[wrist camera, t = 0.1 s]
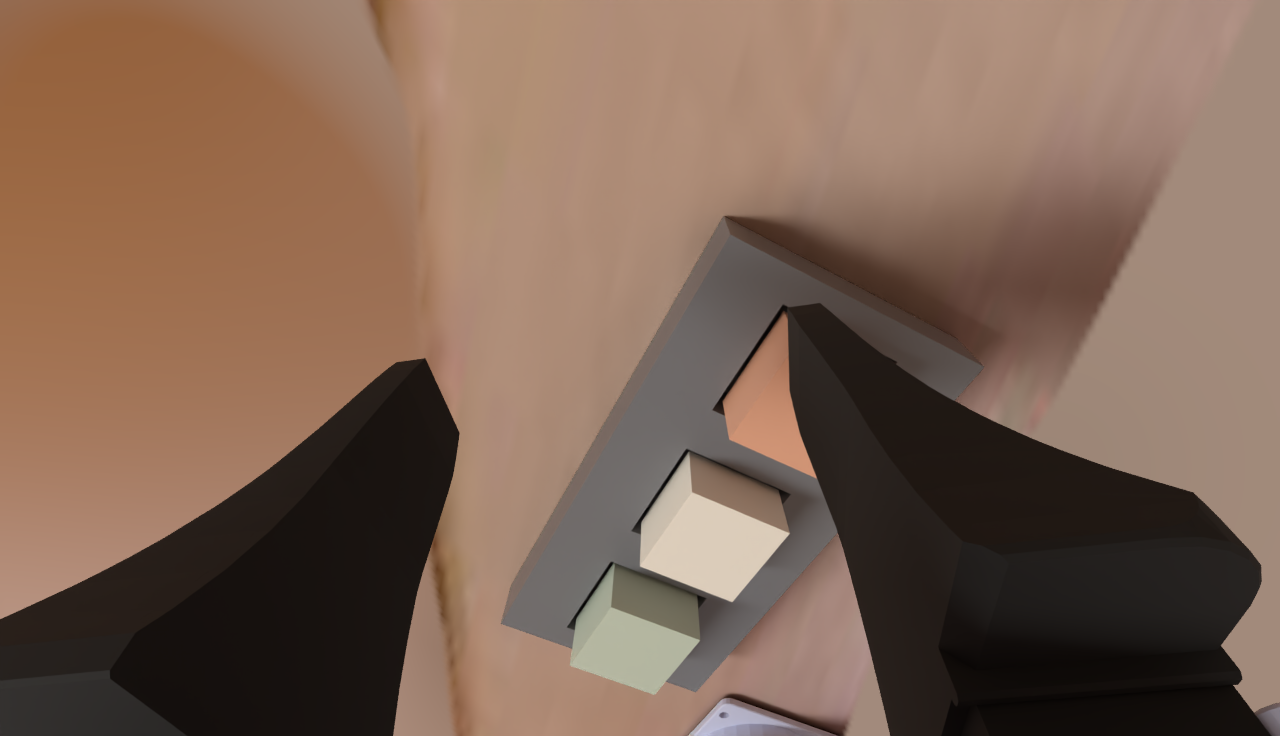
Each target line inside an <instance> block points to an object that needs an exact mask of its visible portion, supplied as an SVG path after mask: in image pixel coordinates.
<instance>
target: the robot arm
mask: <svg viewBox="0 0 1280 736" xmlns="http://www.w3.org/2000/svg"><path fill="white" fill-rule="evenodd" d="M787 312H788V352H789V391H790V395H791V399H792V403H793V408H794V412H795V416H796V420H797V424H798V428H799V432H800V435H801V438H802V441H803V443H804V446H805V449H806V451H807V454H808V456H809V459H810V462H811V464H812V467H813V469H814V472H815V475H816V477H817V480H818V482H819V485H820V487H821V490H822V493H823V495H824V498H825V500H826V503H827V505H828V508H829V511H830V513H831V516H832V518H833V521H834V523H835V526H836V529H837V532H838V535H839V538H840V541H841V544H842V547H843V550H844V553H845V557H846V561H847V564H848V568H849V572H850V575H851V579H852V583H853V586H854V590H855V594H856V598H857V601H858V605H859V609H860V613H861V617H862V621H863V625H864V629H865V633H866V636H867V640H868V644H869V648H870V652H871V656H872V661H873V665H874V669H875V673H876V677H877V681H878V685H879V689H880V693H881V697H882V702H883V706H884V710H885V714H886V719H887V723H888V728H889V732H890V736H1280V703H1275V704H1272V705H1270V706H1267V707H1264V708H1261V709H1259V710H1258V711H1256V712H1255V713H1254V712H1253V711H1252V710H1251V709H1250V707H1249V706H1248V704H1247V703H1246V702H1245V700H1243V698H1242V697H1241V695H1240V694H1239V693H1238V691H1237V690H1236V689H1235V687H1234V686H1233V685H1238V684H1239V683H1240V681H1241V680H1242V675H1241V671H1240V670H1239V668H1238V667H1237V666H1236V665H1235V663H1234V662H1233V661H1232V660H1231V658H1230V657H1229V656H1228V654H1227V653H1226V652H1225V650H1224V649H1223V648H1222V647H1221V644H1222V643H1223V642H1224V640H1225V639H1226V638H1227V636H1228V635H1229V634H1230V632H1231V631H1232V630H1233V628H1234V627H1235V626H1236V624H1237V623H1238V622H1239V620H1240V619H1241V617H1242V616H1243V615H1244V614H1245V612H1246V611H1247V609H1248V608H1249V607H1250V605H1251V604H1252V602H1253V600H1254V598H1255V596H1256V594H1257V592H1258V590H1259V588H1260V585H1261V581H1262V580H1261V565H1260V563H1259V562H1258V561H1257V559H1256V558H1255V557H1254V555H1253V554H1252V553H1251V551H1250V550H1249V549H1248V548H1247V547H1246V546H1245V545H1244V544H1243V543H1242V542H1241V541H1240V540H1239V539H1238V538H1237V536H1236V535H1235V534H1234V533H1233V532H1232V531H1231V530H1230V529H1229V528H1228V527H1227V526H1226V525H1225V524H1224V522H1223V521H1222V520H1221V519H1220V518H1219V517H1218V516H1217V515H1216V514H1215V513H1214V512H1213V511H1212V510H1211V509H1210V508H1209V507H1208V506H1207V505H1206V504H1205V503H1204V502H1203V501H1201V500H1200V499H1199V498H1198V497H1197V496H1196V495H1195V494H1194V493H1193V492H1190V491H1186V490H1183V489H1179V488H1176V487H1173V486H1169V485H1166V484H1163V483H1159V482H1155V481H1153V480H1149V479H1146V478H1142V477H1139V476H1136V475H1132V474H1129V473H1126V472H1122V471H1119V470H1115V469H1112V468H1109V467H1106V466H1103V465H1100V464H1098V463H1095V462H1092V461H1089V460H1087V459H1084V458H1081V457H1078V456H1075V455H1073V454H1070V453H1067V452H1064V451H1061V450H1059V449H1057V448H1054V447H1052V446H1049V445H1046V444H1044V443H1042V442H1039V441H1037V440H1034V439H1032V438H1029V437H1027V436H1025V435H1023V434H1020V433H1018V432H1016V431H1014V430H1012V429H1009V428H1007V427H1005V426H1003V425H1000V424H998V423H996V422H994V421H992V420H990V419H988V418H986V417H984V416H982V415H980V414H978V413H976V412H974V411H972V410H970V409H968V408H966V407H965V406H963V405H961V404H959V403H957V402H955V401H954V400H952V399H950V398H948V397H946V396H945V395H943V394H941V393H939V392H938V391H936V390H934V389H933V388H931V387H929V386H928V385H926V384H925V383H923V382H922V381H920V380H919V379H917V378H916V377H914V376H913V375H911V374H909V373H908V372H906V371H905V370H903V369H902V368H900V367H899V366H898V365H896V364H895V363H893V362H892V361H891V360H889V359H888V358H887V357H886V356H884V355H883V354H882V353H880V352H879V351H878V350H876V349H875V348H874V347H872V346H871V345H870V344H869V343H867V342H866V341H865V340H864V339H862V338H861V337H860V336H859V335H858V334H856V333H855V332H854V331H853V330H852V329H850V328H849V327H848V326H847V325H846V324H845V323H843V322H842V321H841V320H840V319H839V318H838V317H836V316H835V315H834V314H833V313H832V312H831V311H829V310H828V309H827V308H826V307H824V306H823V305H822V304H821V303H816V304H809V305H801V306H794V307H787ZM458 440H459V431H458V429H457V426H456V424H455V422H454V420H453V418H452V416H451V413H450V411H449V409H448V407H447V405H446V402H445V400H444V398H443V396H442V394H441V392H440V389H439V387H438V385H437V383H436V381H435V378H434V376H433V374H432V372H431V370H430V368H429V365H428V363H427V361H426V359H425V358H424V359H417V360H411V361H404V362H397V363H395V364H394V365H392V366H391V367H390V368H388V369H387V370H386V371H384V372H383V373H382V374H381V375H380V376H379V377H377V378H376V379H375V380H374V381H373V382H372V383H370V384H369V385H368V386H367V387H366V388H364V389H363V390H362V391H361V392H360V393H359V394H358V395H356V396H355V397H354V398H353V399H352V400H351V401H350V402H349V403H347V404H346V405H345V406H344V407H343V408H342V409H341V410H339V411H338V412H337V413H336V414H335V415H334V416H333V417H332V418H330V419H329V420H328V421H327V422H326V423H325V424H324V425H323V426H321V427H320V428H319V429H318V430H317V431H315V432H314V433H313V434H312V435H310V436H309V437H308V438H307V439H306V440H304V441H303V442H302V443H301V444H300V445H298V446H297V447H296V448H295V449H293V450H292V451H291V452H290V453H289V454H287V455H286V456H285V457H284V458H282V459H281V460H280V461H279V462H277V463H276V464H275V465H273V466H272V467H271V468H270V469H269V470H267V471H266V472H264V473H263V474H262V475H260V476H259V477H258V478H256V479H255V480H253V481H252V482H251V483H249V484H248V485H246V486H245V487H243V488H242V489H240V490H239V491H238V492H236V493H235V494H233V495H232V496H230V497H229V498H228V499H226V500H225V501H223V502H222V503H220V504H219V505H217V506H215V507H214V508H212V509H211V510H209V511H207V512H206V513H204V514H202V515H201V516H199V517H198V518H196V519H194V520H193V521H191V522H190V523H188V524H186V525H184V526H183V527H182V528H180V529H178V530H176V531H175V532H173V533H172V534H170V535H168V536H167V537H165V538H163V539H162V540H160V541H158V542H156V543H154V544H153V545H151V546H149V547H147V548H145V549H144V550H142V551H140V552H138V553H137V554H135V555H133V556H131V557H129V558H127V559H125V560H123V561H121V562H119V563H117V564H116V565H114V566H112V567H110V568H108V569H106V570H104V571H102V572H100V573H98V574H96V575H94V576H92V577H90V578H88V579H86V580H84V581H82V582H80V583H78V584H76V585H74V586H72V587H70V588H67V589H65V590H63V591H61V592H59V593H57V594H55V595H52V596H50V597H48V598H46V599H44V600H42V601H39V602H37V603H35V604H33V605H31V606H29V607H26V608H25V609H22V610H20V611H18V612H16V613H13V614H11V615H9V616H7V617H4V618H2V619H0V736H393V732H394V725H395V717H396V709H397V701H398V695H399V687H400V682H401V675H402V670H403V664H404V658H405V652H406V646H407V640H408V635H409V630H410V625H411V620H412V615H413V610H414V605H415V600H416V595H417V591H418V587H419V584H420V580H421V576H422V572H423V570H424V566H425V563H426V560H427V557H428V554H429V551H430V548H431V545H432V541H433V538H434V535H435V532H436V529H437V526H438V523H439V520H440V517H441V513H442V510H443V507H444V504H445V501H446V497H447V494H448V491H449V488H450V484H451V481H452V477H453V472H454V467H455V461H456V455H457V448H458ZM688 736H837V735H834V734H832V733H829V732H826V731H823V730H820V729H817V728H815V727H812V726H809V725H806V724H803V723H800V722H798V721H795V720H792V719H789V718H786V717H783V716H781V715H778V714H775V713H772V712H769V711H766V710H764V709H761V708H758V707H755V706H752V705H749V704H747V703H744V702H741V701H738V700H735V699H732V698H725V699H722V700H721V701H720V702H719V703H718V704H717V705H716V706H715V707H714V708H713V709H712V710H711V712H710V713H709V714H708V715H707V716H706V717H705V718H704V719H703V720H702V721H701V722H700V723H699V724H698V725H697V727H696V728H695V729H694V730H693V731H692V732H691V733H690V734H689V735H688Z"/></svg>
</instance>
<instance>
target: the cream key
mask: <svg viewBox="0 0 1280 736" xmlns="http://www.w3.org/2000/svg"><path fill="white" fill-rule="evenodd" d="M789 534H790V532H789V528H788V525H787V521H786V517H785V513H784V509H783V505H782V502H781V498H780V494H779V490H777V489H775V488H773V487H770V486H768V485H766V484H764V483H761V482H759V481H757V480H754V479H752V478H750V477H747V476H745V475H743V474H741V473H738V472H736V471H734V470H731V469H729V468H727V467H725V466H722V465H720V464H718V463H715V462H713V461H711V460H708V459H706V458H704V457H702V456H699V455H697V454H695V453H692V452H690V451H689V452H688V453H687V455H686V456H685V458H684V459H683V461H682V462H681V464H680V465H679V467H678V468H677V470H676V471H675V473H674V474H673V476H672V477H671V479H670V480H669V482H668V483H667V484H666V486H665V487H664V489H663V490H662V492H661V493H660V495H659V496H658V498H657V499H656V501H655V502H654V504H653V505H652V507H651V508H650V510H649V511H648V513H647V514H646V516H645V517H644V519H643V520H642V522H641V547H640V567H643V568H645V569H648V570H651V571H653V572H656V573H658V574H661V575H663V576H666V577H669V578H671V579H674V580H676V581H679V582H681V583H684V584H687V585H689V586H692V587H694V588H697V589H700V590H702V591H705V592H707V593H710V594H712V595H715V596H718V597H720V598H723V599H725V600H728V601H730V602H733V601H734V599H735V598H736V597H737V596H738V595H739V594H740V592H741V591H742V590H743V589H744V588H745V586H746V585H747V584H748V583H749V582H750V580H751V579H752V578H753V577H754V576H755V574H756V573H757V572H758V571H759V570H760V568H761V567H762V566H763V565H764V564H765V563H766V561H767V560H768V559H769V558H770V557H771V555H772V554H773V553H774V552H775V551H776V549H777V548H778V547H779V546H780V545H781V543H782V542H783V541H784V540H785V539H786V537H787V536H788V535H789Z"/></svg>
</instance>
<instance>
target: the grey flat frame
mask: <svg viewBox="0 0 1280 736" xmlns="http://www.w3.org/2000/svg"><path fill="white" fill-rule="evenodd" d="M816 303H821V304H822V305H823V306H824V307H826V308H827V309H828V310H829V311H831V312H832V313H833V314H834V315H835V316H836V317H838V318H839V319H840V320H841V321H842V322H843V323H845V324H846V325H847V326H848V327H849V328H850V329H852V330H853V331H854V332H855V333H856V334H858V335H859V336H860V337H861V338H862V339H864V340H865V341H866V342H867V343H869V344H870V345H871V346H872V347H874V348H875V349H876V350H878V351H879V352H880V353H882V354H883V355H884V356H886V357H887V358H888V359H889V360H891V361H892V362H893V363H895V364H896V365H898V366H899V367H900V368H902V369H903V370H905V371H906V372H908V373H909V374H911V375H913V376H914V377H916V378H917V379H919V380H920V381H922V382H923V383H925V384H926V385H928V386H929V387H931V388H933V389H934V390H936V391H938V392H939V393H941V394H943V395H945V396H946V397H948V398H950V399H952V400H954V401H955V400H956V398H957V397H958V396H959V395H960V394H961V393H962V392H963V391H964V389H965V388H966V387H967V386H968V385H969V384H970V383H971V382H972V380H973V379H974V378H975V377H976V376H977V375H978V374H979V373H980V371H981V370H982V369H983V368H984V366H983V365H982V364H981V363H980V362H979V361H978V360H977V359H976V358H975V357H974V356H973V355H972V354H971V353H970V352H969V351H968V350H967V348H966V347H965V346H964V345H963V344H962V343H961V342H960V341H959V340H958V339H956V338H955V337H953V336H951V335H949V334H947V333H945V332H943V331H941V330H939V329H937V328H936V327H934V326H932V325H930V324H928V323H926V322H924V321H922V320H920V319H918V318H917V317H915V316H913V315H911V314H909V313H907V312H905V311H903V310H901V309H899V308H898V307H896V306H894V305H892V304H890V303H888V302H886V301H884V300H882V299H880V298H879V297H877V296H875V295H873V294H871V293H869V292H867V291H865V290H863V289H861V288H860V287H858V286H856V285H854V284H852V283H850V282H848V281H846V280H844V279H842V278H841V277H839V276H837V275H835V274H833V273H831V272H829V271H827V270H825V269H823V268H822V267H820V266H818V265H816V264H814V263H812V262H810V261H808V260H806V259H804V258H803V257H801V256H799V255H797V254H795V253H793V252H791V251H789V250H787V249H785V248H784V247H782V246H780V245H778V244H776V243H774V242H772V241H770V240H768V239H766V238H765V237H763V236H761V235H759V234H757V233H755V232H753V231H751V230H749V229H747V228H745V227H744V226H742V225H740V224H738V223H736V222H734V221H732V220H730V219H728V218H726V217H725V216H723V218H722V220H721V222H720V223H719V225H718V227H717V228H716V230H715V232H714V234H713V235H712V237H711V239H710V241H709V242H708V244H707V246H706V248H705V249H704V251H703V253H702V255H701V256H700V258H699V260H698V261H697V263H696V265H695V267H694V268H693V270H692V272H691V274H690V275H689V277H688V279H687V281H686V282H685V284H684V286H683V288H682V289H681V291H680V293H679V294H678V296H677V298H676V300H675V301H674V303H673V305H672V307H671V308H670V310H669V312H668V314H667V315H666V317H665V319H664V321H663V322H662V324H661V326H660V327H659V329H658V331H657V333H656V334H655V336H654V338H653V340H652V341H651V343H650V345H649V347H648V348H647V350H646V352H645V354H644V355H643V357H642V359H641V360H640V362H639V364H638V366H637V367H636V369H635V371H634V373H633V374H632V376H631V378H630V380H629V381H628V383H627V385H626V387H625V388H624V390H623V392H622V393H621V395H620V397H619V399H618V400H617V402H616V404H615V406H614V407H613V409H612V411H611V413H610V414H609V416H608V418H607V420H606V421H605V423H604V425H603V426H602V428H601V430H600V432H599V433H598V435H597V437H596V439H595V440H594V442H593V444H592V446H591V447H590V449H589V451H588V453H587V454H586V456H585V458H584V459H583V461H582V463H581V465H580V466H579V468H578V470H577V472H576V473H575V475H574V477H573V479H572V480H571V482H570V484H569V486H568V487H567V489H566V491H565V492H564V494H563V496H562V498H561V499H560V501H559V503H558V505H557V506H556V508H555V510H554V512H553V513H552V515H551V517H550V519H549V520H548V522H547V524H546V525H545V527H544V529H543V531H542V532H541V534H540V536H539V538H538V539H537V541H536V543H535V545H534V546H533V548H532V550H531V552H530V553H529V555H528V557H527V558H526V560H525V562H524V564H523V565H522V567H521V569H520V571H519V572H518V574H517V576H516V578H515V579H514V581H513V583H512V585H511V587H510V591H509V595H508V599H507V602H506V606H505V610H504V614H503V618H502V621H501V624H503V625H506V626H509V627H512V628H515V629H517V630H520V631H523V632H526V633H529V634H532V635H535V636H537V637H540V638H543V639H546V640H549V641H552V642H554V643H557V644H560V645H563V646H566V647H569V648H572V647H573V640H574V632H575V625H576V618H577V617H578V615H579V614H580V612H581V611H582V609H583V608H584V606H585V605H586V603H587V602H588V600H589V599H590V597H591V596H592V594H593V593H594V591H595V590H596V588H597V587H598V585H599V584H600V583H601V581H602V580H603V578H604V577H605V575H606V574H607V572H608V571H609V569H610V568H611V566H612V565H613V563H616V564H619V565H622V566H624V567H627V568H629V569H632V570H635V571H637V572H640V573H642V574H645V575H647V576H650V577H653V578H655V579H658V580H660V581H663V582H666V583H668V584H671V585H673V586H676V587H679V588H681V589H684V590H686V591H689V592H692V593H694V594H697V600H698V614H699V629H700V641H699V642H698V644H697V645H696V646H695V647H694V648H693V650H692V651H691V652H690V653H689V654H688V656H687V657H686V658H685V659H684V660H683V662H682V663H681V664H680V665H679V666H678V667H677V669H676V670H675V671H674V672H673V673H672V675H671V676H670V677H669V678H668V679H667V681H666V682H668V683H671V684H674V685H677V686H680V687H683V688H686V689H688V690H691V691H694V692H696V691H697V690H698V689H699V688H700V687H701V686H702V685H703V684H704V682H705V681H706V680H707V679H708V678H709V677H710V676H711V675H712V673H713V672H714V671H715V670H716V669H717V668H718V667H719V666H720V664H721V663H722V662H723V661H724V660H725V659H726V658H727V656H728V655H729V654H730V653H731V652H732V651H733V650H734V649H735V647H736V646H737V645H738V644H739V643H740V642H741V641H742V640H743V638H744V637H745V636H746V635H747V634H748V633H749V632H750V631H751V629H752V628H753V627H754V626H755V625H756V624H757V623H758V622H759V620H760V619H761V618H762V617H763V616H764V615H765V614H766V613H767V611H768V610H769V609H770V608H771V607H772V606H773V605H774V604H775V602H776V601H777V600H778V599H779V598H780V597H781V596H782V595H783V593H784V592H785V591H786V590H787V589H788V588H789V587H790V586H791V584H792V583H793V582H794V581H795V580H796V579H797V578H798V577H799V575H800V574H801V573H802V572H803V571H804V570H805V569H806V567H807V566H808V565H809V564H810V563H811V562H812V561H813V560H814V558H815V557H816V556H817V555H818V554H819V553H820V552H821V551H822V549H823V548H824V547H825V546H826V545H827V544H828V543H829V542H830V540H831V539H832V538H833V537H834V536H835V535H836V534H837V533H838V532H837V529H836V526H835V523H834V521H833V518H832V516H831V513H830V511H829V508H828V505H827V503H826V500H825V498H824V495H823V493H822V490H821V487H820V485H819V482H818V480H817V478H814V477H812V476H810V475H808V474H805V473H803V472H801V471H799V470H796V469H794V468H792V467H790V466H787V465H785V464H783V463H781V462H778V461H776V460H774V459H772V458H770V457H767V456H765V455H763V454H761V453H758V452H756V451H754V450H752V449H749V448H747V447H745V446H743V445H740V444H738V443H736V442H734V441H731V440H729V436H728V430H727V424H726V418H725V413H724V407H723V400H724V398H725V397H726V395H727V394H728V392H729V391H730V389H731V388H732V386H733V385H734V384H735V382H736V381H737V379H738V378H739V376H740V375H741V373H742V372H743V370H744V369H745V367H746V366H747V364H748V363H749V361H750V360H751V358H752V357H753V355H754V354H755V352H756V351H757V349H758V348H759V346H760V345H761V343H762V342H763V340H764V339H765V337H766V336H767V334H768V333H769V332H770V330H771V329H772V327H773V326H774V324H775V323H776V321H777V320H778V318H779V317H780V315H781V314H782V312H783V311H785V312H787V307H794V306H801V305H809V304H816ZM787 313H788V312H787ZM689 451H690V452H692V453H695V454H697V455H699V456H702V457H704V458H706V459H708V460H711V461H713V462H715V463H718V464H720V465H722V466H725V467H727V468H729V469H731V470H734V471H736V472H738V473H741V474H743V475H745V476H747V477H750V478H752V479H754V480H757V481H759V482H761V483H764V484H766V485H768V486H770V487H773V488H775V489H777V490H779V494H780V498H781V502H782V505H783V509H784V513H785V517H786V521H787V525H788V528H789V532H790V534H789V535H788V536H787V537H786V539H785V540H784V541H783V542H782V543H781V545H780V546H779V547H778V548H777V549H776V551H775V552H774V553H773V554H772V555H771V557H770V558H769V559H768V560H767V561H766V563H765V564H764V565H763V566H762V567H761V568H760V570H759V571H758V572H757V573H756V574H755V576H754V577H753V578H752V579H751V580H750V582H749V583H748V584H747V585H746V586H745V588H744V589H743V590H742V591H741V592H740V594H739V595H738V596H737V597H736V598H735V599H734V601H733V602H730V601H728V600H725V599H723V598H720V597H718V596H715V595H712V594H710V593H707V592H705V591H702V590H700V589H697V588H694V587H692V586H689V585H687V584H684V583H681V582H679V581H676V580H674V579H671V578H669V577H666V576H663V575H661V574H658V573H656V572H653V571H651V570H648V569H645V568H643V567H640V547H641V522H642V520H643V519H644V517H645V516H646V514H647V513H648V511H649V510H650V508H651V507H652V505H653V504H654V502H655V501H656V499H657V498H658V496H659V495H660V493H661V492H662V490H663V489H664V487H665V486H666V484H667V483H668V482H669V480H670V479H671V477H672V476H673V474H674V473H675V471H676V470H677V468H678V467H679V465H680V464H681V462H682V461H683V459H684V458H685V456H686V455H687V453H688V452H689Z"/></svg>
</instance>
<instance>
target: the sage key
mask: <svg viewBox="0 0 1280 736" xmlns="http://www.w3.org/2000/svg"><path fill="white" fill-rule="evenodd" d="M699 641H700V629H699V614H698V600H697V594H694V593H692V592H689V591H686V590H684V589H681V588H679V587H676V586H673V585H671V584H668V583H666V582H663V581H660V580H658V579H655V578H653V577H650V576H647V575H645V574H642V573H640V572H637V571H635V570H632V569H629V568H627V567H624V566H622V565H619V564H616V563H613V565H612V566H611V568H610V569H609V571H608V572H607V574H606V575H605V577H604V578H603V580H602V581H601V583H600V584H599V585H598V587H597V588H596V590H595V591H594V593H593V594H592V596H591V597H590V599H589V600H588V602H587V603H586V605H585V606H584V608H583V609H582V611H581V612H580V614H579V615H578V617H577V618H576V625H575V632H574V640H573V647H572V654H571V661H570V666H572V667H575V668H578V669H581V670H584V671H587V672H590V673H593V674H595V675H598V676H601V677H604V678H607V679H610V680H613V681H616V682H619V683H622V684H624V685H627V686H630V687H633V688H636V689H639V690H642V691H645V692H648V693H651V694H653V695H655V694H656V693H657V691H658V690H659V689H660V688H661V687H662V685H663V684H664V683H665V682H666V681H667V679H668V678H669V677H670V676H671V675H672V673H673V672H674V671H675V670H676V669H677V667H678V666H679V665H680V664H681V663H682V662H683V660H684V659H685V658H686V657H687V656H688V654H689V653H690V652H691V651H692V650H693V648H694V647H695V646H696V645H697V644H698V642H699Z"/></svg>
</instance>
